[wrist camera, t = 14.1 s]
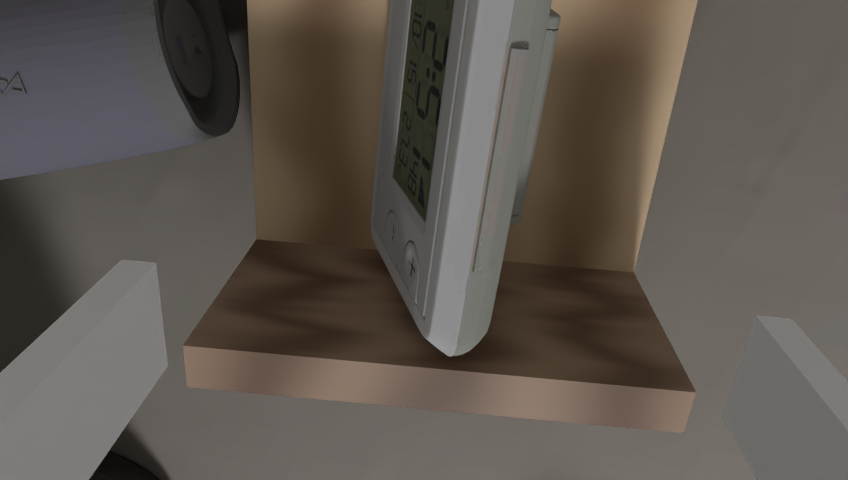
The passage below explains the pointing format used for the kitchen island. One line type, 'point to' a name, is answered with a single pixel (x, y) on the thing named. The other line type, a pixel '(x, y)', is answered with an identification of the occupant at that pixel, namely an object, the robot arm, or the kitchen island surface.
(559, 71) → the wooden stand
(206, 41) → the bluetooth speaker
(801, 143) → the kitchen island surface
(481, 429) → the kitchen island surface
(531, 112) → the digital clock
